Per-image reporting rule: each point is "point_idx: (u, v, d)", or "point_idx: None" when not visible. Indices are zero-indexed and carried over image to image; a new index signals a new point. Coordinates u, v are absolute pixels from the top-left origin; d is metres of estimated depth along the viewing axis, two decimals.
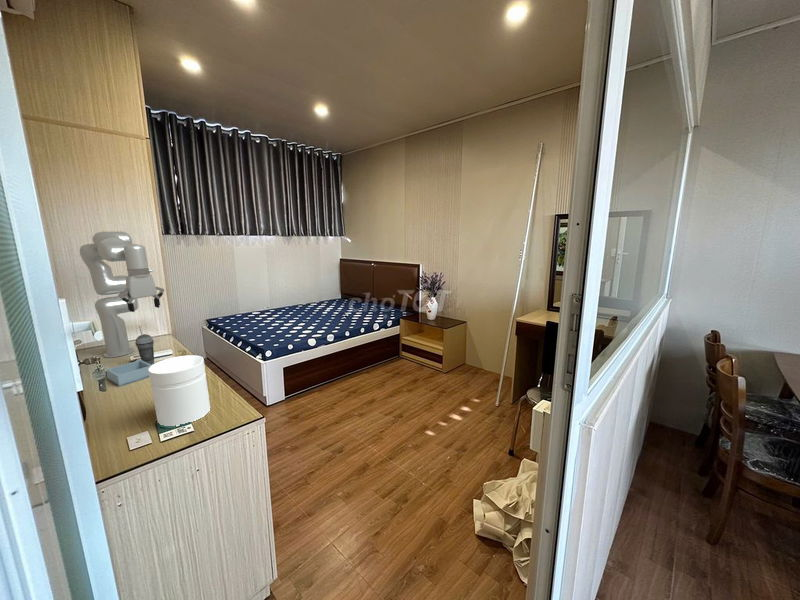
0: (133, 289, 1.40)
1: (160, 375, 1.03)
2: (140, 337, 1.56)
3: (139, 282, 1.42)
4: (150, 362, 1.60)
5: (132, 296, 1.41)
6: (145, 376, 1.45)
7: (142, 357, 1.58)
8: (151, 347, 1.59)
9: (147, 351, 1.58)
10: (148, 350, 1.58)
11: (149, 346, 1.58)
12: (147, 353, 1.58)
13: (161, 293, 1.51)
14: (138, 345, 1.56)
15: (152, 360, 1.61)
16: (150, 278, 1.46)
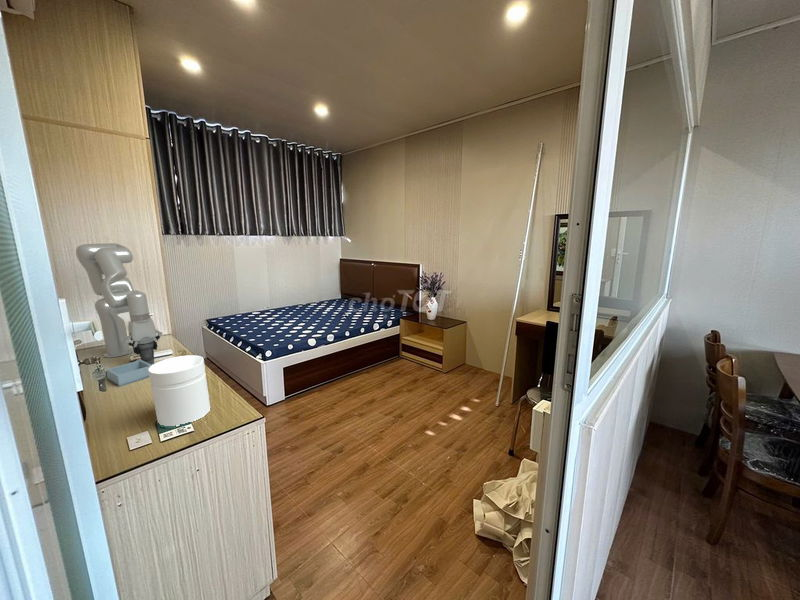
0: (135, 333, 1.53)
1: (160, 375, 1.03)
2: None
3: (140, 327, 1.55)
4: (150, 362, 1.60)
5: (134, 340, 1.54)
6: (145, 376, 1.45)
7: (142, 357, 1.58)
8: (151, 347, 1.59)
9: (147, 351, 1.58)
10: (148, 350, 1.58)
11: (149, 346, 1.58)
12: (147, 353, 1.58)
13: (158, 336, 1.63)
14: (138, 345, 1.56)
15: (152, 360, 1.61)
16: (151, 322, 1.58)
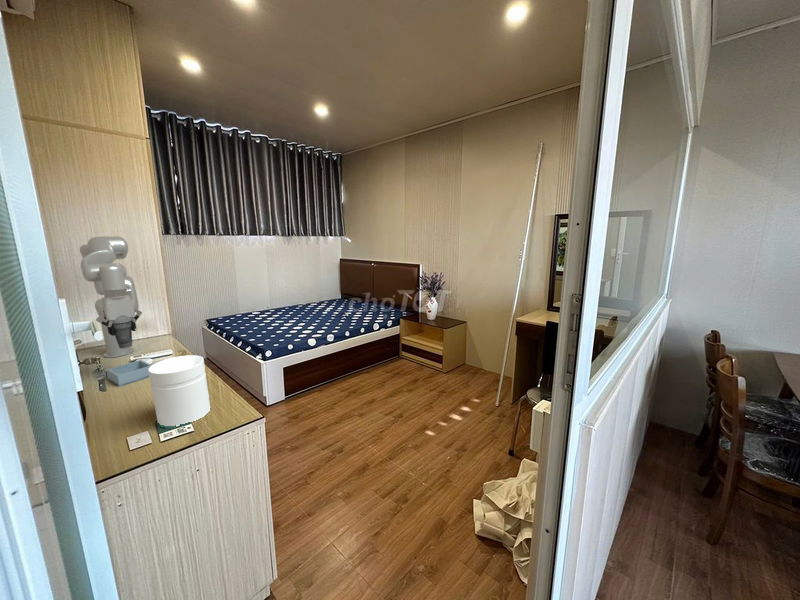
0: (109, 311, 1.35)
1: (160, 375, 1.03)
2: None
3: (115, 304, 1.36)
4: (127, 344, 1.41)
5: (108, 318, 1.35)
6: (145, 376, 1.45)
7: (118, 339, 1.39)
8: (128, 327, 1.41)
9: (123, 332, 1.39)
10: (125, 331, 1.40)
11: (126, 326, 1.40)
12: (124, 334, 1.40)
13: (137, 316, 1.45)
14: (113, 325, 1.37)
15: (130, 342, 1.42)
16: (128, 299, 1.40)
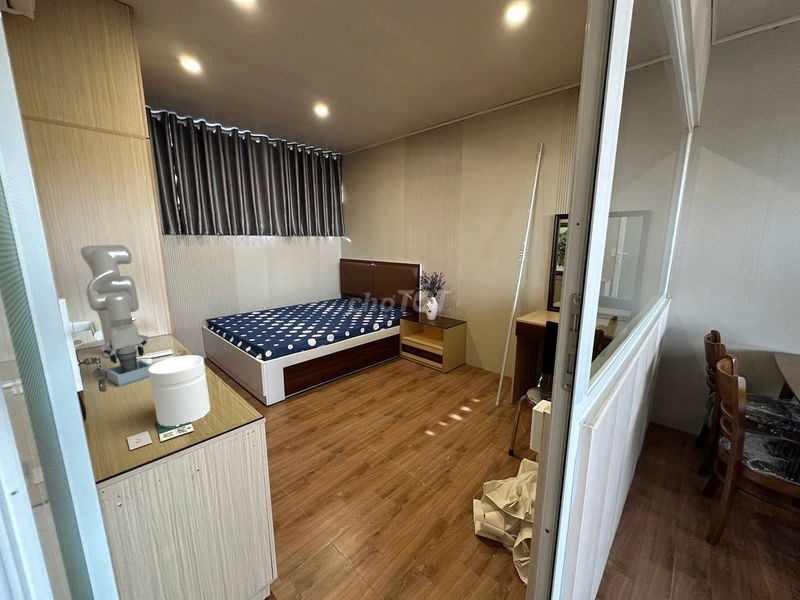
0: (115, 341, 1.38)
1: (160, 375, 1.03)
2: None
3: (121, 333, 1.39)
4: None
5: (114, 348, 1.38)
6: (145, 376, 1.45)
7: (124, 369, 1.42)
8: (134, 357, 1.44)
9: (129, 362, 1.42)
10: (130, 361, 1.43)
11: (131, 356, 1.43)
12: (129, 364, 1.42)
13: (145, 341, 1.48)
14: (119, 356, 1.40)
15: None
16: (133, 327, 1.43)
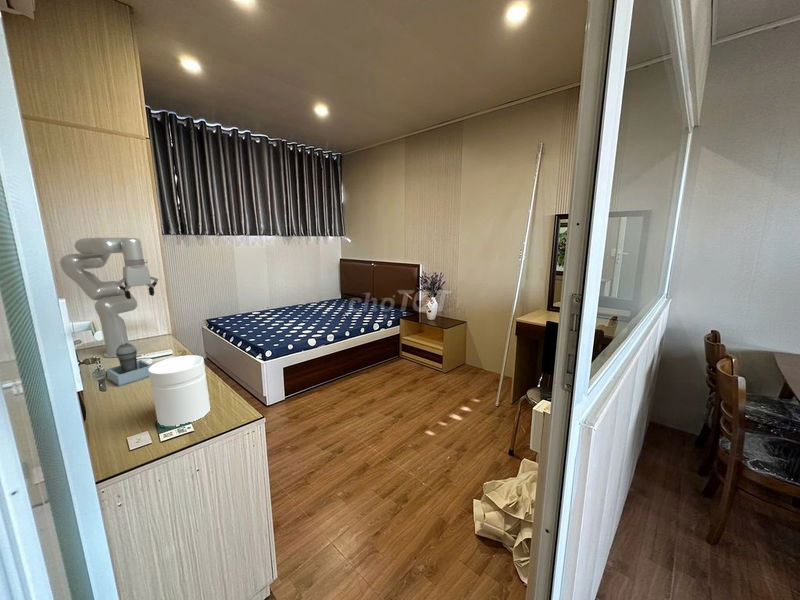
0: (129, 278, 1.55)
1: (160, 375, 1.03)
2: (121, 347, 1.41)
3: (135, 272, 1.56)
4: None
5: (129, 284, 1.55)
6: (145, 376, 1.45)
7: (124, 369, 1.42)
8: (134, 357, 1.44)
9: (129, 362, 1.42)
10: (130, 361, 1.43)
11: (131, 356, 1.43)
12: (129, 364, 1.42)
13: (155, 282, 1.66)
14: (119, 356, 1.40)
15: None
16: (145, 268, 1.60)
